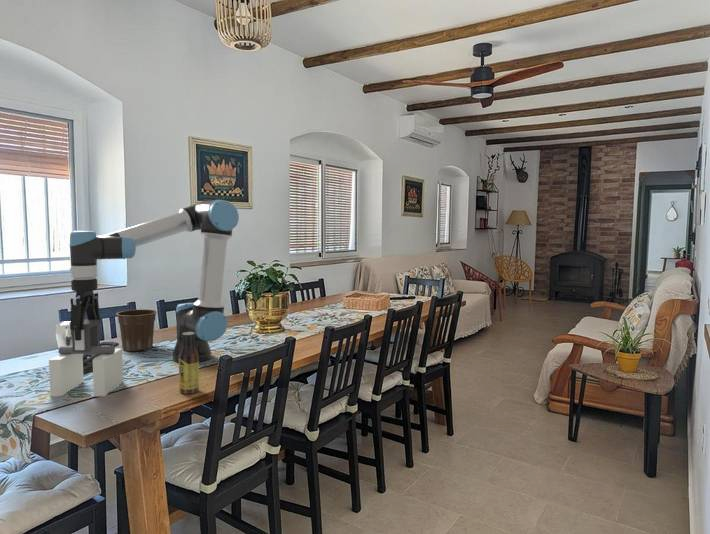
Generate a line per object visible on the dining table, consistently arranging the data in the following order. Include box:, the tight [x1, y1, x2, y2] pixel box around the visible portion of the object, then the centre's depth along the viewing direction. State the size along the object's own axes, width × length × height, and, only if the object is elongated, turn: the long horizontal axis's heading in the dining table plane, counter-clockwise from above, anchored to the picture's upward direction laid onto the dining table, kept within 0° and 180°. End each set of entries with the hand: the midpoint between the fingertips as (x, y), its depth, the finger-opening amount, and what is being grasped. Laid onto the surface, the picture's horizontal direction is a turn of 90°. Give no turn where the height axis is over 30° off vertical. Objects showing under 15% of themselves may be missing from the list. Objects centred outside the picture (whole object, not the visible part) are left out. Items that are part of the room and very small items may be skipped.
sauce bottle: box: [178, 332, 200, 395], centre depth 163 cm, size 7×6×20 cm
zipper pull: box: [83, 341, 120, 375], centre depth 191 cm, size 9×7×25 cm
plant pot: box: [115, 309, 158, 352], centre depth 217 cm, size 16×16×16 cm
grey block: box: [72, 318, 101, 352], centre depth 163 cm, size 5×8×9 cm, turn 3°
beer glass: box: [55, 321, 72, 348], centre depth 198 cm, size 7×7×15 cm
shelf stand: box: [48, 346, 124, 397], centre depth 165 cm, size 17×14×14 cm
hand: (86, 346), depth 164 cm, fingers closed on grey block, 8 cm apart
